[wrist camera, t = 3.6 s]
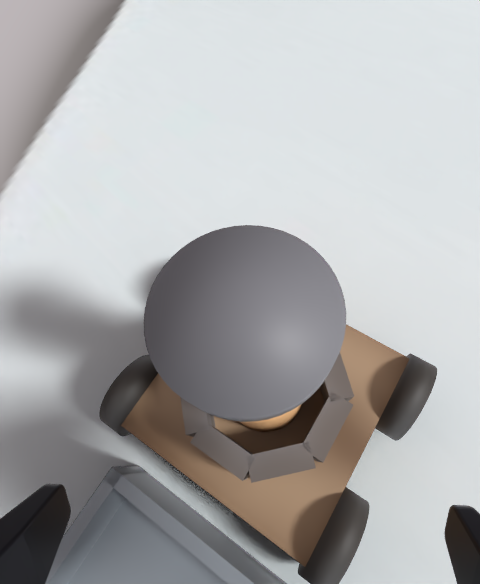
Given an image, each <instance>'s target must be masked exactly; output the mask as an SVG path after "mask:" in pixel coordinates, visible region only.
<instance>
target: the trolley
mask: <svg viewBox="0 0 480 584" xmlns="http://www.w3.org/2000/svg"><path fill="white" fill-rule="evenodd" d="M436 375H437V368H436V367H435V366H433V365H431V364H429V363H427V362H426V361H424V360H422V359H420V358H418V357H416V356H414V355H413V354H409V355H408V356H407V357H406V356H404V355H402V354H400V353H398V352H396V351H394V350H393V349H391V348H389V347H387V346H385V345H383V344H381V343H380V342H378V341H376V340H374V339H372V338H370V337H368V336H367V335H365V334H363V333H361V332H359V331H357V330H356V329H354V328H352V327H350V326H348V325H346V329H345V335H344V340H343V343H342V347H341V350H340V353H339V355H338V357H337V359H336V361H335V363H334V365H333V367H332V369H331V371H330V373H329V375H328V376H327V378H326V379H325V381H324V382H323V384H322V385H321V386H320V387H319V389H318V390H317V391H316V392H315V393H314V394H313V395H312V396H311V397H310V398H309V399H307V400H306V401H305V402H304V403H302V404H301V407H300V410H299V412H298V414H297V415H296V417H295V418H294V419H293V420H292V422H290V423H289V424H288V425H287V426H285V427H284V428H282V429H279V430H277V431H273V432H258V431H254V430H252V429H249V428H247V427H246V426H244V425H243V424H242V423H240V422H239V421H232V420H226V419H222V418H219V417H215V416H213V415H211V414H208V413H206V412H204V411H202V410H200V409H199V408H197V407H195V406H194V405H192V404H190V403H189V402H187V401H185V400H184V399H182V398H181V397H180V396H179V395H177V394H176V393H175V392H174V391H173V390H172V389H171V388H170V387H169V386H168V385H167V384H166V383H165V382H164V381H163V379H162V378H161V376H160V375H159V373H158V372H157V371H156V369H155V367H154V365H153V363H152V361H151V359H150V356H149V355H145V356H142V357H140V358H138V359H136V360H135V361H134V362H132V363H131V364H130V365H129V366H127V367H126V368H125V369H124V370H123V371H122V372H121V374H120V375H119V376H118V377H117V378H116V379H115V381H114V382H113V384H112V385H111V386H110V388H109V390H108V391H107V393H106V395H105V397H104V399H103V401H102V404H101V408H100V419H101V420H102V421H103V422H104V423H105V424H107V425H108V426H109V427H110V428H112V429H113V430H114V431H116V432H117V433H118V434H119V435H121V436H126V435H129V434H133V435H134V436H135V437H137V438H138V439H139V440H140V441H142V442H143V443H144V444H146V445H147V446H148V447H150V448H151V449H152V450H153V451H155V452H156V453H157V454H159V455H160V456H161V457H163V458H164V459H165V460H166V461H168V462H169V463H170V464H172V465H173V466H174V467H176V468H177V469H178V470H179V471H181V472H182V473H183V474H185V475H186V476H187V477H189V478H190V479H191V480H192V481H194V482H195V483H196V484H198V485H199V486H200V487H202V488H203V489H204V490H205V491H207V492H208V493H209V494H211V495H212V496H213V497H215V498H216V499H217V500H218V501H220V502H221V503H222V504H224V505H225V506H226V507H228V508H229V509H230V510H231V511H233V512H234V513H235V514H237V515H238V516H239V517H241V518H242V519H243V520H244V521H246V522H247V523H248V524H250V525H251V526H252V527H254V528H255V529H256V530H257V531H259V532H260V533H261V534H263V535H264V536H265V537H267V538H268V539H269V540H270V541H272V542H273V543H274V544H276V545H277V546H278V547H280V548H281V549H282V550H283V551H285V552H286V553H287V554H289V555H290V556H291V557H293V558H294V559H295V560H296V561H298V562H299V563H300V564H299V568H298V574H299V575H300V576H301V577H303V578H304V579H305V580H307V581H308V582H309V583H310V584H339V582H340V581H341V579H342V578H343V576H344V574H345V572H346V571H347V569H348V567H349V565H350V563H351V561H352V559H353V557H354V555H355V553H356V551H357V548H358V546H359V543H360V541H361V538H362V536H363V533H364V530H365V527H366V523H367V519H368V514H369V503H368V502H367V501H366V500H364V499H363V498H361V497H360V496H358V495H357V494H355V493H354V492H352V491H351V490H350V489H348V488H347V487H346V485H347V483H348V481H349V479H350V477H351V475H352V473H353V471H354V469H355V467H356V465H357V463H358V461H359V459H360V457H361V455H362V453H363V451H364V449H365V447H366V445H367V443H368V441H369V439H370V437H371V435H372V433H373V431H374V429H375V428H376V429H377V430H379V431H380V432H382V433H384V434H385V435H387V436H389V437H390V438H392V439H394V440H396V441H397V440H399V439H400V438H402V437H403V436H404V435H405V434H406V432H407V431H408V430H409V429H410V428H411V426H412V425H413V423H414V422H415V420H416V419H417V417H418V416H419V414H420V412H421V411H422V409H423V407H424V405H425V403H426V401H427V399H428V397H429V395H430V393H431V391H432V388H433V386H434V383H435V379H436Z"/></svg>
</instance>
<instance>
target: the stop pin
mask: <svg viewBox="0 0 480 584" xmlns="http://www.w3.org/2000/svg"><path fill="white" fill-rule="evenodd" d="M345 329H346V308H345V300H344V297H343V293H342V289H341V287H340V284H339V282H338V280H337V277H336V276H335V274H334V272H333V271H332V269H331V267H330V266H329V265H328V263H327V262H326V261H325V260H324V258H323V257H322V256H321V255H320V254H319V253H318V252H317V251H316V250H315V249H314V248H312V247H311V246H309V245H308V244H307V243H305V242H304V241H302V240H301V239H299V238H297V237H295V236H293V235H291V234H289V233H286V232H284V231H281V230H277V229H274V228H269V227H263V226H251V225H245V226H233V227H228V228H223V229H219V230H216V231H212V232H210V233H208V234H205V235H203V236H201V237H199V238H197V239H195V240H193V241H192V242H190V243H189V244H187V245H186V246H184V247H183V248H182V249H180V250H179V251H178V252H177V253H176V254H175V255H174V256H173V257H172V258H171V259H170V260H169V261H168V262H167V263H166V264H165V266H164V267H163V268H162V270H161V271H160V273H159V274H158V276H157V278H156V280H155V281H154V283H153V285H152V287H151V290H150V293H149V296H148V298H147V303H146V307H145V314H144V336H145V341H146V347H147V350H148V353H149V356H150V359H151V361H152V363H153V365H154V367H155V369H156V371H157V372H158V373H159V375H160V376H161V378H162V379H163V381H164V382H165V383H166V384H167V385H168V386H169V387H170V388H171V389H172V390H173V391H174V392H175V393H176V394H177V395H179V396H180V397H181V398H182V399H184V400H185V401H187V402H189V403H190V404H192V405H194V406H195V407H197V408H199V409H200V410H202V411H204V412H206V413H208V414H211V415H213V416H215V417H219V418H222V419H226V420H232V421H239V422H240V423H242V424H243V425H244V426H246V427H247V428H249V429H252V430H254V431H258V432H273V431H277V430H279V429H282V428H284V427H285V426H287V425H288V424H289V423H290V422H292V420H293V419H294V418H295V417H296V415H297V414H298V412H299V410H300V407H301V404H302V403H304V402H305V401H306V400H307V399H309V398H310V397H311V396H312V395H313V394H314V393H315V392H316V391H317V390H318V389H319V387H320V386H321V385H322V384H323V382H324V381H325V379H326V378H327V376H328V375H329V373H330V371H331V369H332V367H333V365H334V363H335V361H336V359H337V357H338V355H339V353H340V350H341V347H342V343H343V340H344V335H345Z"/></svg>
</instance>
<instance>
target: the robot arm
mask: <svg viewBox="0 0 480 584" xmlns="http://www.w3.org/2000/svg"><path fill="white" fill-rule="evenodd" d="M70 512H71V510H70V504H69V501H68V498H67V494H66V491H65V488H64V486H63V485H61V484H46V485H44V486H42V487H41V488H40V489H38V490H37V491H36V492H34V493H33V494H32V495H31V496H29V497H28V498H27V499H25V500H24V501H23V502H22V503H20V504H19V505H18V506H16V507H15V508H14V509H12V510H11V511H10V512H9V513H7V514H6V515H5V516H3V517H2V518H1V519H0V584H45V583H46V581H47V578H48V575H49V573H50V570H51V567H52V564H53V562H54V559H55V556H56V554H57V551H58V548H59V545H60V543H61V540H62V537H63V534H64V532H65V529H66V526H67V524H68V521H69V518H70ZM445 540H446V545H447V548H448V552H449V556H450V559H451V563H452V566H453V570H454V574H455V577H456V581H457V584H480V514H479V513H478V512H477V511H476V510H475V509H474V508H472V507H470V506H464V505H452V506H451V507H450V509H449V513H448V518H447V522H446V527H445Z"/></svg>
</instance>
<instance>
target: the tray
mask: <svg viewBox="0 0 480 584" xmlns="http://www.w3.org/2000/svg"><path fill="white" fill-rule="evenodd" d="M45 584H286V583H285V582H284V581H283V580H281V579H280V578H279V577H278V576H276V575H275V574H274V573H273V572H271V571H270V570H269V569H268V568H266V567H265V566H264V565H263V564H261V563H260V562H259V561H258V560H256V559H255V558H254V557H252V556H251V555H250V554H249V553H247V552H246V551H245V550H244V549H242V548H241V547H240V546H239V545H237V544H236V543H235V542H234V541H232V540H231V539H230V538H229V537H227V536H226V535H225V534H224V533H222V532H221V531H220V530H219V529H217V528H216V527H215V526H214V525H212V524H211V523H210V522H209V521H207V520H206V519H205V518H204V517H202V516H201V515H200V514H199V513H197V512H196V511H195V510H193V509H192V508H191V507H190V506H188V505H187V504H186V503H185V502H183V501H182V500H181V499H180V498H178V497H177V496H176V495H175V494H173V493H172V492H171V491H170V490H168V489H167V488H166V487H165V486H163V485H162V484H161V483H160V482H158V481H157V480H156V479H155V478H153V477H152V476H151V475H150V474H148V473H147V472H146V471H145V470H143V469H142V468H141V467H140V466H123V467H112V468H111V469H110V471H109V472H108V473H107V475H106V476H105V478H104V479H103V481H102V482H101V484H100V485H99V486H98V488H97V489H96V491H95V492H94V494H93V495H92V496H91V498H90V499H89V501H88V502H87V504H86V505H85V507H84V508H83V509H82V511H81V512H80V514H79V515H78V517H77V518H76V519H75V521H74V522H73V524H72V525H71V527H70V528H69V530H68V531H67V532H66V534H65V535H64V537H63V538H62V540H61V543H60V545H59V548H58V551H57V554H56V556H55V559H54V562H53V564H52V567H51V570H50V573H49V575H48V578H47V581H46V583H45Z"/></svg>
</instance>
